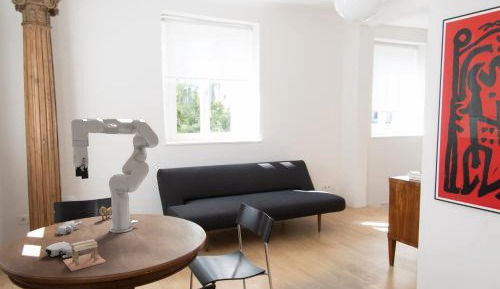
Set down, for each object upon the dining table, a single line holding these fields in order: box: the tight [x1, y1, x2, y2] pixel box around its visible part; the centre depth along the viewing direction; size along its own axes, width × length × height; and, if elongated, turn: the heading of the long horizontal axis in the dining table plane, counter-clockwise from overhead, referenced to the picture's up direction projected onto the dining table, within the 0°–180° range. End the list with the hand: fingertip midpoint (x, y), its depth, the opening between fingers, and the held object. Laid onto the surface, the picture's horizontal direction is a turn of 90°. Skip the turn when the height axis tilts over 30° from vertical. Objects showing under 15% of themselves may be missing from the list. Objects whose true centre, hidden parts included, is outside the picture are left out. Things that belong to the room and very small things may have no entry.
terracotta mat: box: [62, 253, 107, 272], centre depth 161 cm, size 14×14×1 cm
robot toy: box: [40, 240, 84, 259], centre depth 169 cm, size 12×4×15 cm
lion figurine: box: [99, 206, 112, 221], centre depth 230 cm, size 15×5×9 cm, turn 169°
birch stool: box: [71, 239, 99, 266], centre depth 160 cm, size 6×9×8 cm, turn 130°
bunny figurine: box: [55, 220, 84, 235], centre depth 205 cm, size 10×5×15 cm
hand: (82, 177), depth 184 cm, fingers open, 9 cm apart
